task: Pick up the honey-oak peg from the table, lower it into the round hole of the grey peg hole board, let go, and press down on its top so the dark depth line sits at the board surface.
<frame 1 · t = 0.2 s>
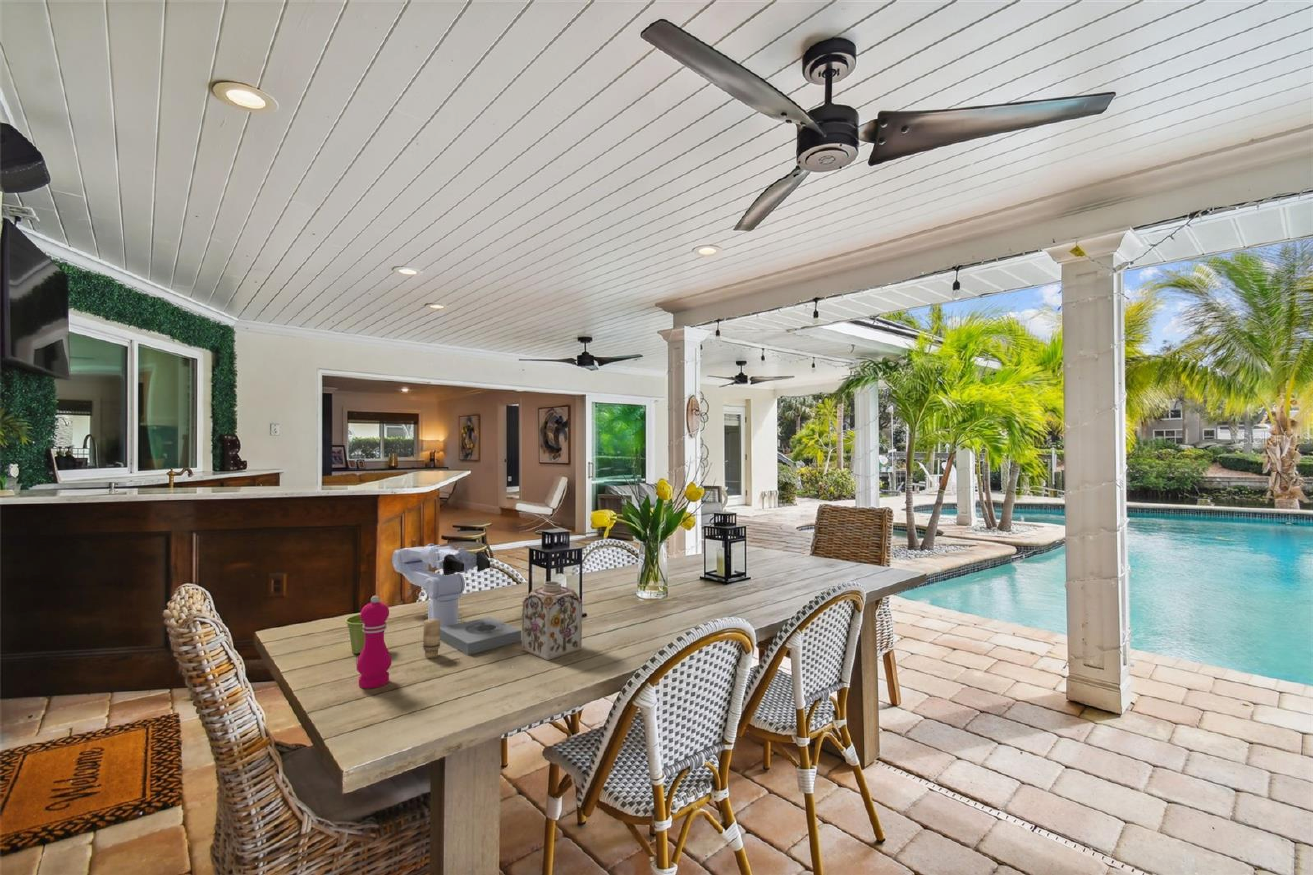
hand: (476, 565, 162), 21 cm above the table, tool horizontal, fingers open, 7 cm apart
oak peg: (431, 655, 153), on the table
decorative jar: (552, 651, 158), on the table
grey peg hole board: (479, 640, 166), on the table
pepper mill: (373, 684, 135), on the table
plant pot: (365, 651, 157), on the table
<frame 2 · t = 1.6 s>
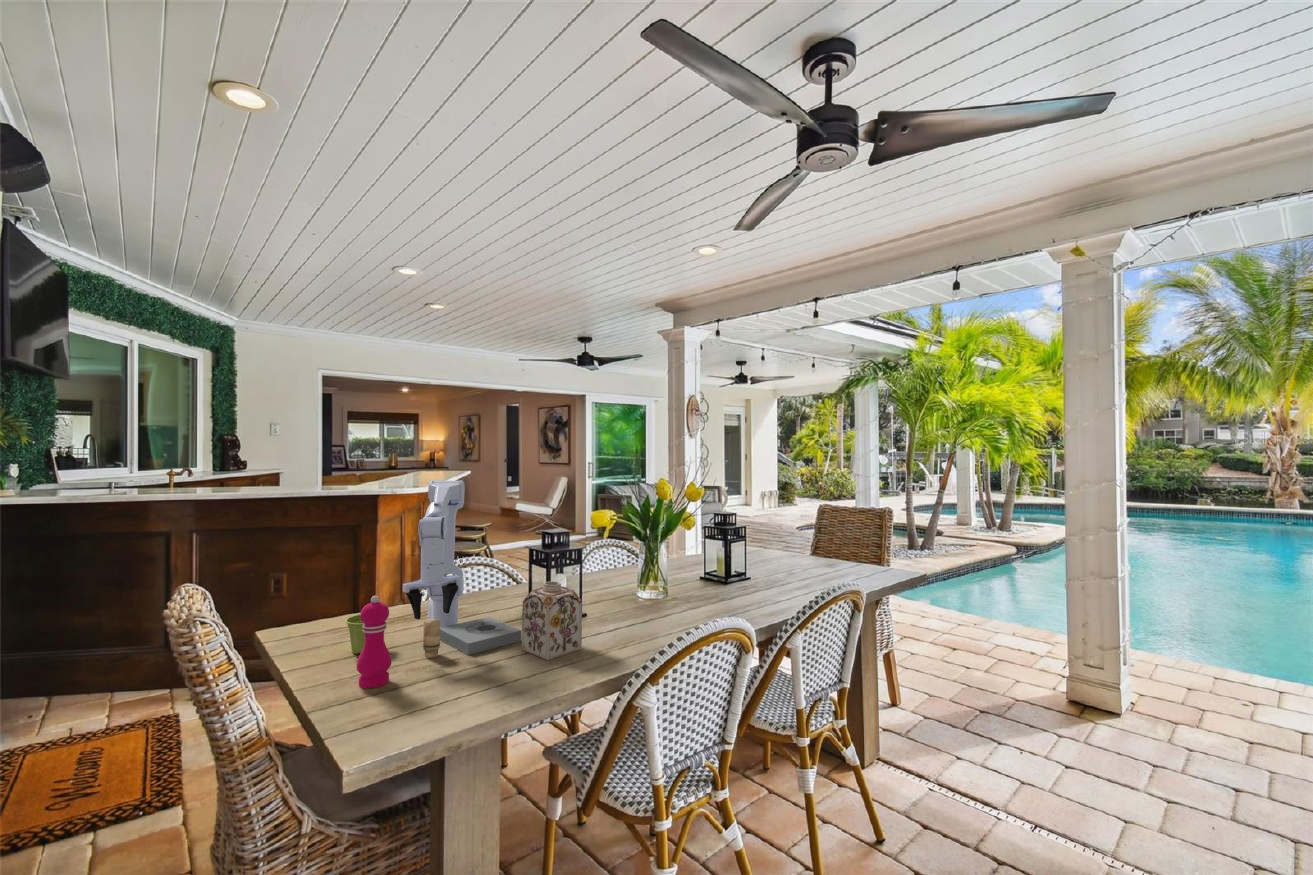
hand: (432, 615, 153), 10 cm above the table, tool pointing down, fingers open, 7 cm apart
nothing on the table moved.
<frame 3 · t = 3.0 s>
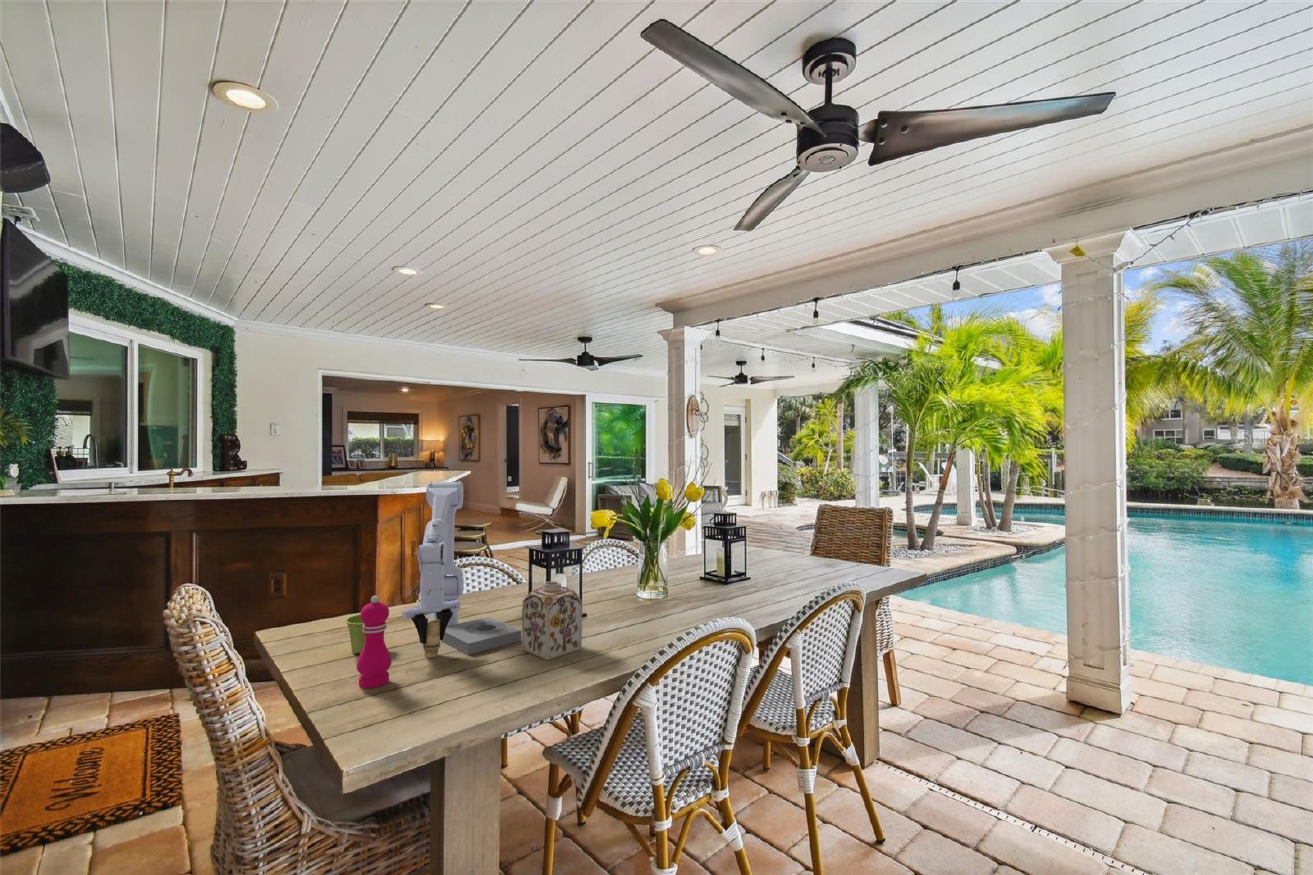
hand: (431, 641, 153), 4 cm above the table, tool pointing down, fingers closed on oak peg, 4 cm apart
oak peg: (431, 655, 153), on the table, touching gripper
everything else where it was.
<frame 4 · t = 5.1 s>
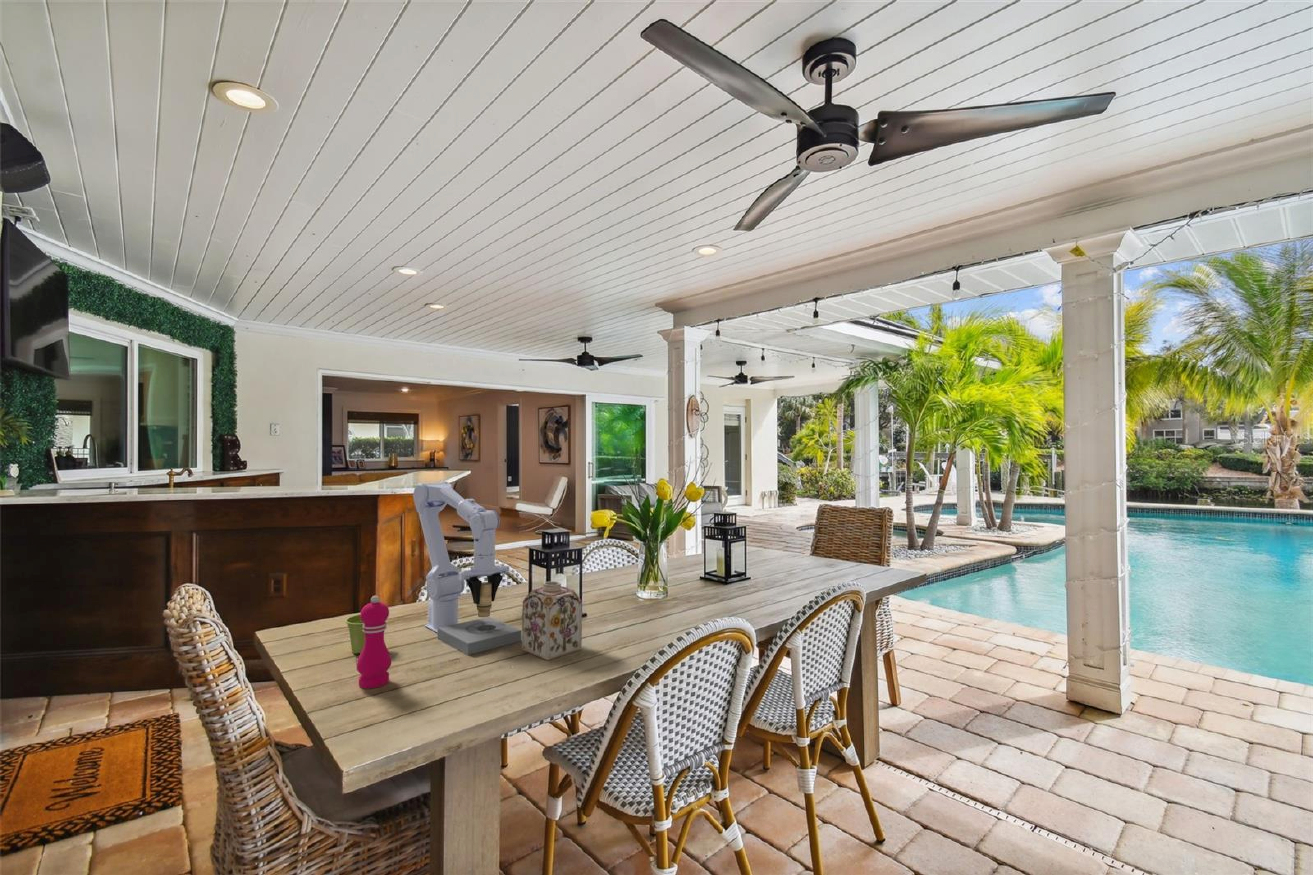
hand: (484, 602, 167), 10 cm above the table, tool pointing down, fingers closed on oak peg, 4 cm apart
oak peg: (484, 615, 166), point 7 cm above the table, touching gripper
everything else where it was.
when the fingers open (5 cm above the table, at t = 7.4 s): oak peg stays where it is, resting in grey peg hole board.
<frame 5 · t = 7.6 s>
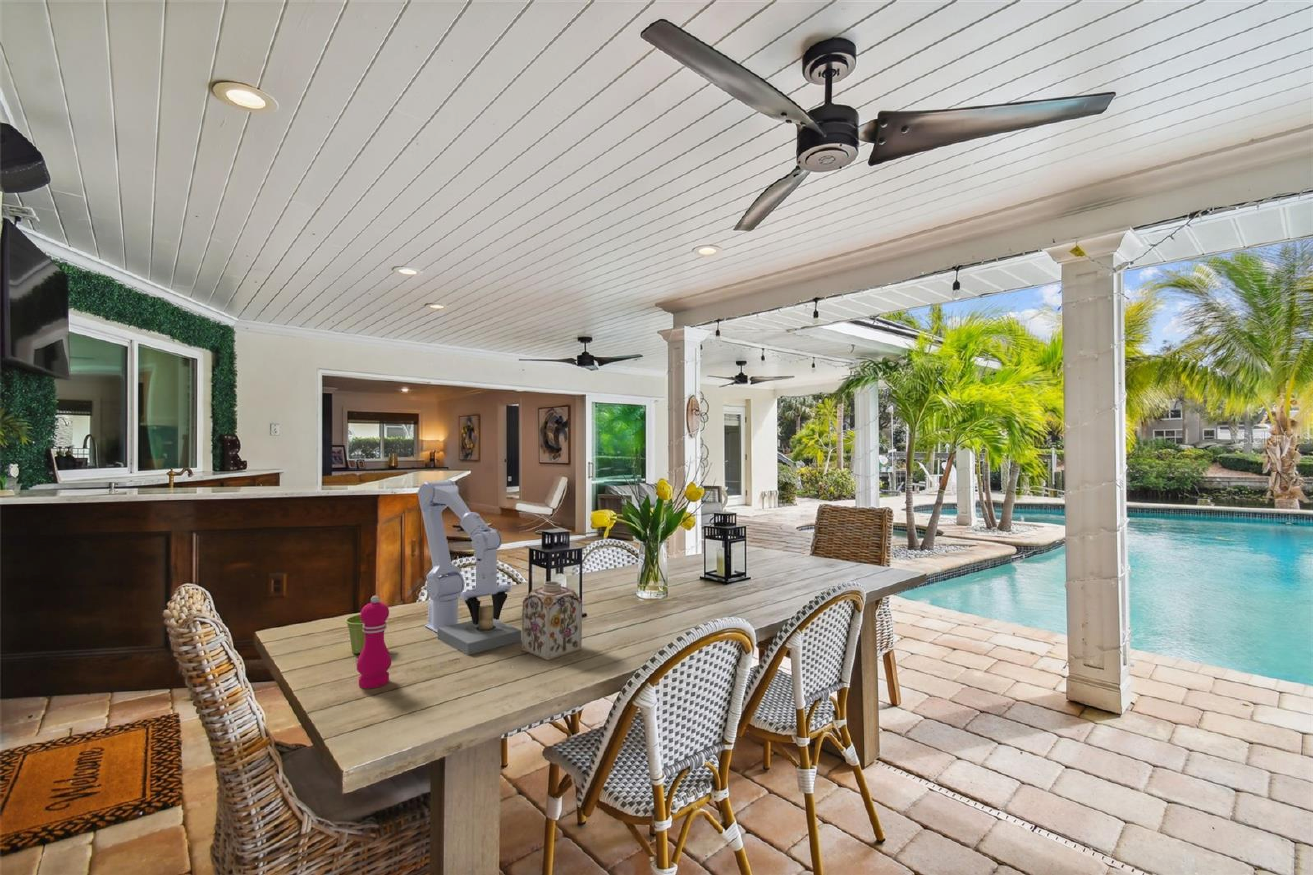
hand: (485, 621, 167), 5 cm above the table, tool pointing down, fingers open, 6 cm apart
oak peg: (485, 638, 167), resting in grey peg hole board
everything else where it was.
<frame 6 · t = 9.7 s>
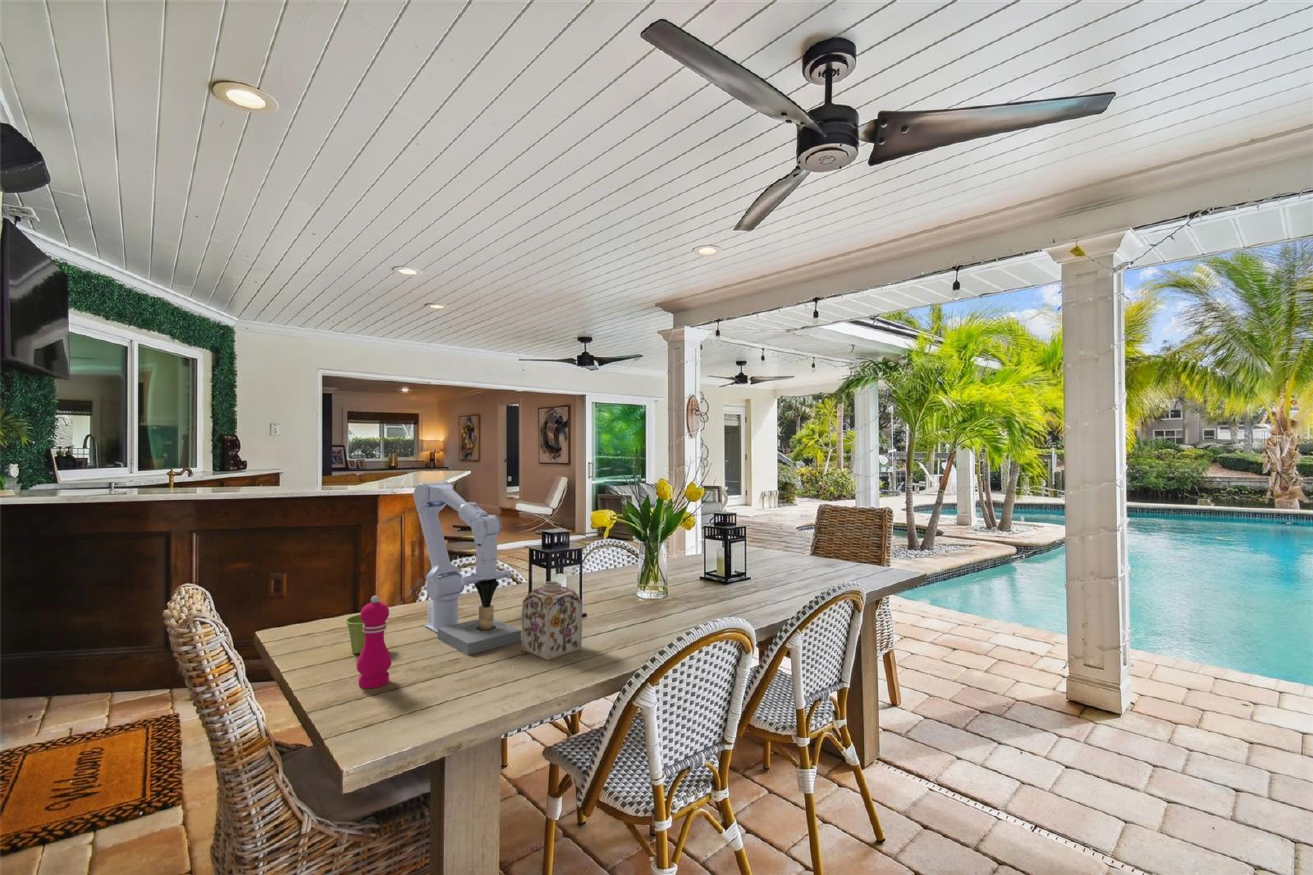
hand: (486, 606, 167), 9 cm above the table, tool pointing down, fingers closed, pressing on oak peg
oak peg: (485, 638, 167), resting in grey peg hole board, touching gripper
everything else where it was.
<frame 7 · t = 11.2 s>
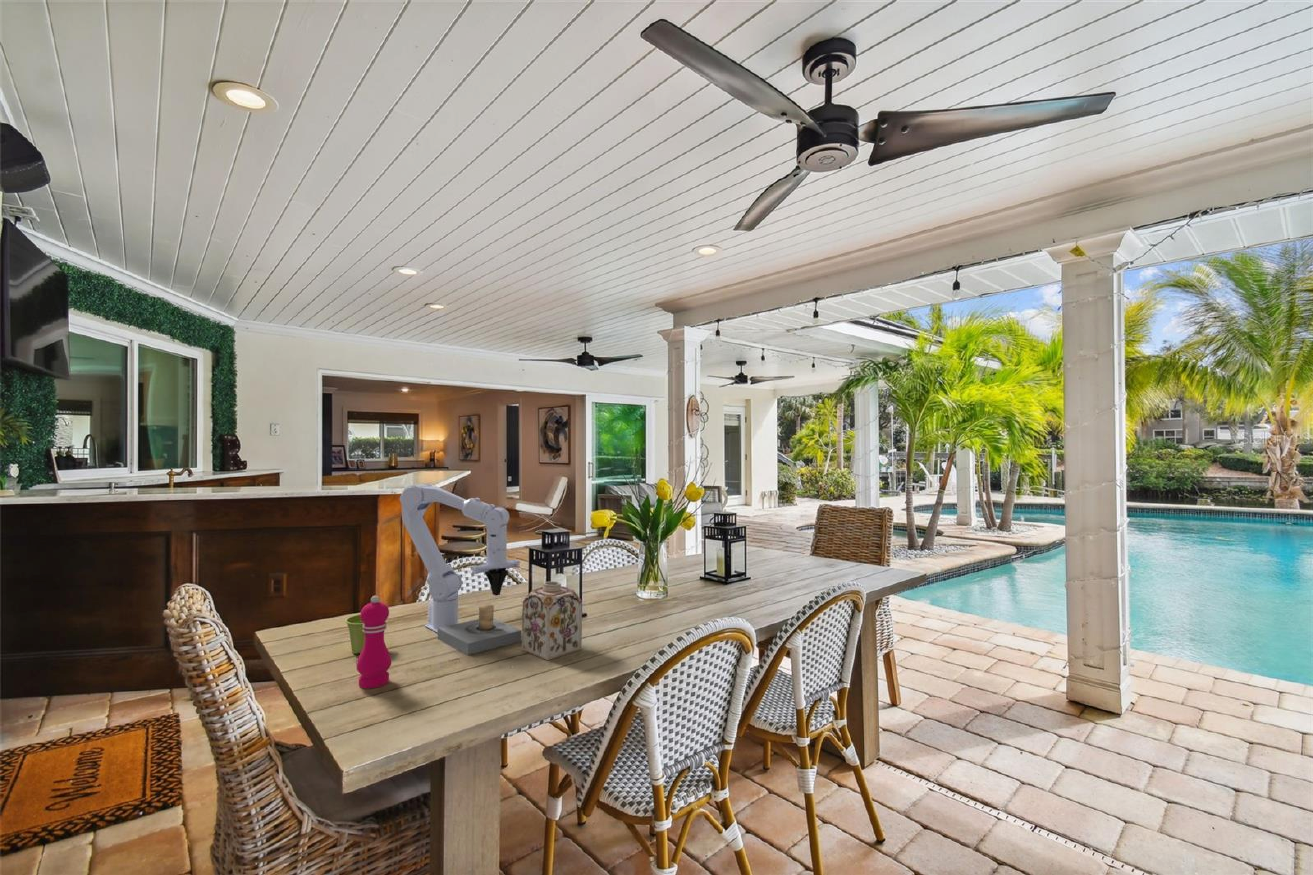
hand: (496, 594, 175), 10 cm above the table, tool pointing down, fingers closed
oak peg: (485, 638, 167), resting in grey peg hole board
everything else where it was.
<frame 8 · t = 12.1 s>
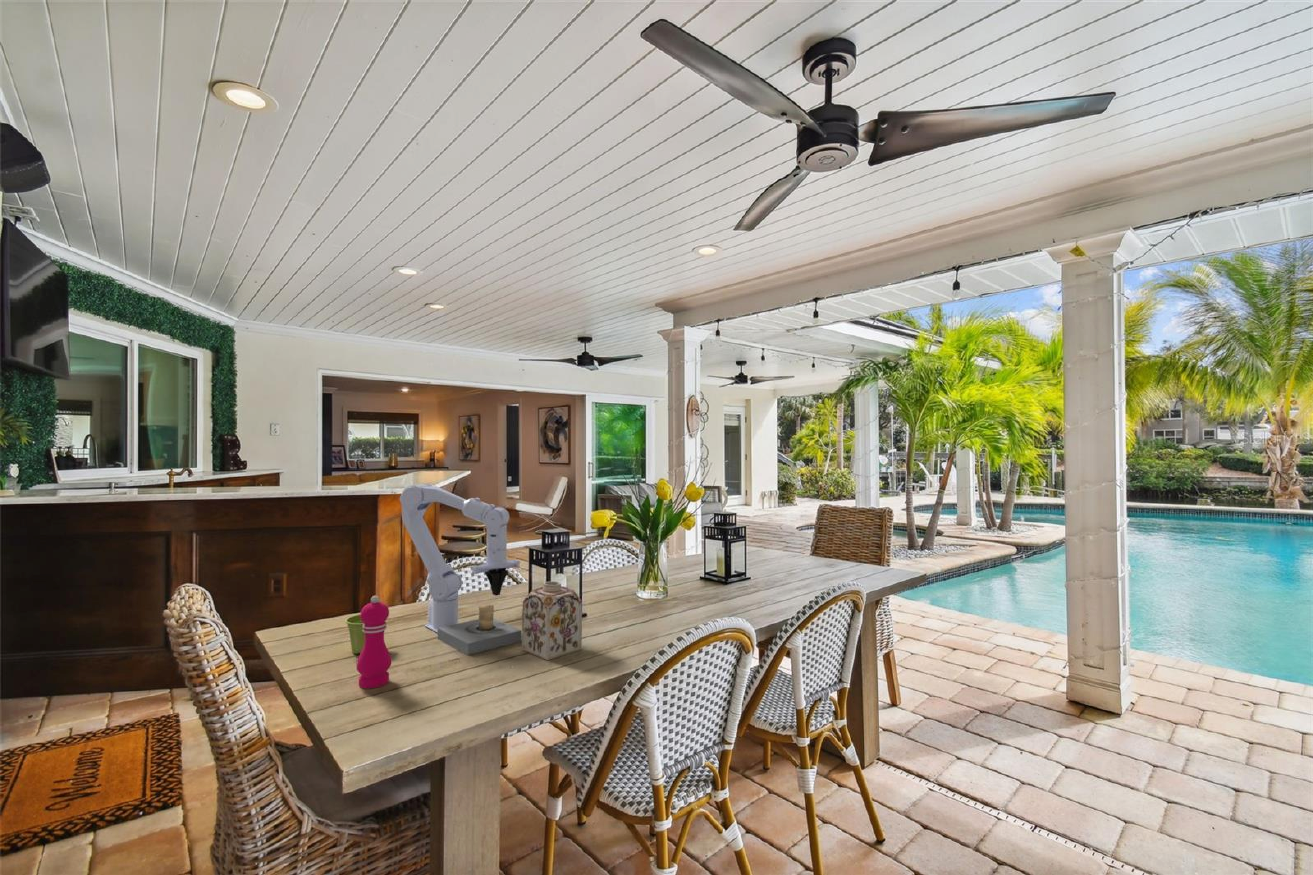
hand: (496, 594, 175), 10 cm above the table, tool pointing down, fingers closed
nothing on the table moved.
at the end: oak peg 0.1 cm from the target spot on the grey peg hole board, point 0.0 cm above the grey peg hole board's base; oak peg tilted 0°; the gripper is holding nothing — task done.
